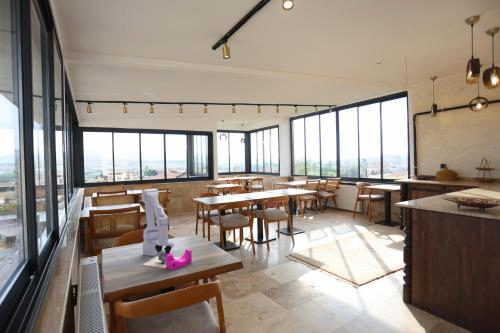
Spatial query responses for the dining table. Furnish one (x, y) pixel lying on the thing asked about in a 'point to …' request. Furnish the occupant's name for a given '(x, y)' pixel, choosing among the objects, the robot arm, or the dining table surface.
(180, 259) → the toy block
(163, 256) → the slate-blue cube
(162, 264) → the letter board
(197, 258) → the dining table surface
